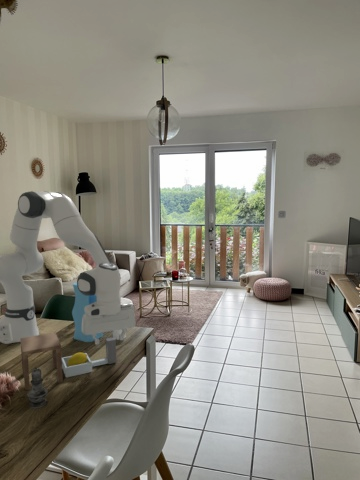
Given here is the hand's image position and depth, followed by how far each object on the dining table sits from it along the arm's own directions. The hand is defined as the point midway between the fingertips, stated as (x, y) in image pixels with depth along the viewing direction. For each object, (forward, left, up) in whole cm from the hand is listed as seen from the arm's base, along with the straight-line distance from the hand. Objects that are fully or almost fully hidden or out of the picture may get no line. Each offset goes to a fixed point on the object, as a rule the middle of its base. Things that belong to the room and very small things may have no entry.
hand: (109, 341), depth 139 cm
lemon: (-10, -13, -7) cm, 17 cm away
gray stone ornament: (-5, -32, -9) cm, 33 cm away
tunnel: (-16, -19, -8) cm, 26 cm away
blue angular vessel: (-24, +18, -9) cm, 31 cm away
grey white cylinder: (-11, +23, -9) cm, 27 cm away
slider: (-5, -6, -8) cm, 11 cm away
